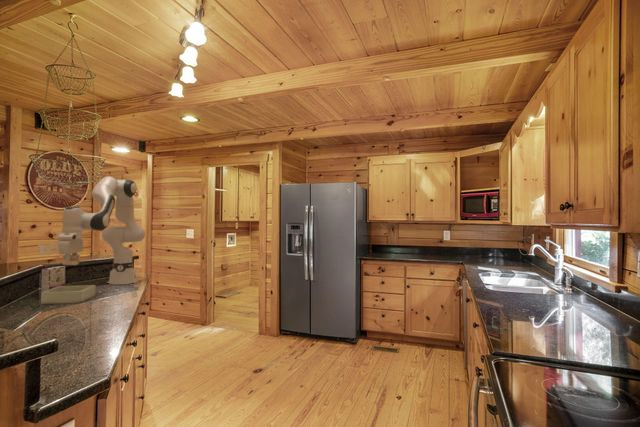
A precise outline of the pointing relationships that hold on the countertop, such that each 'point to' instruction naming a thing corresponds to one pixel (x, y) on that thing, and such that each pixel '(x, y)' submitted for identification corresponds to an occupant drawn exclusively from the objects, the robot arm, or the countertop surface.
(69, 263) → the ash block
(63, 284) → the candy bar box
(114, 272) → the robot arm
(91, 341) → the countertop surface
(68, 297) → the box
